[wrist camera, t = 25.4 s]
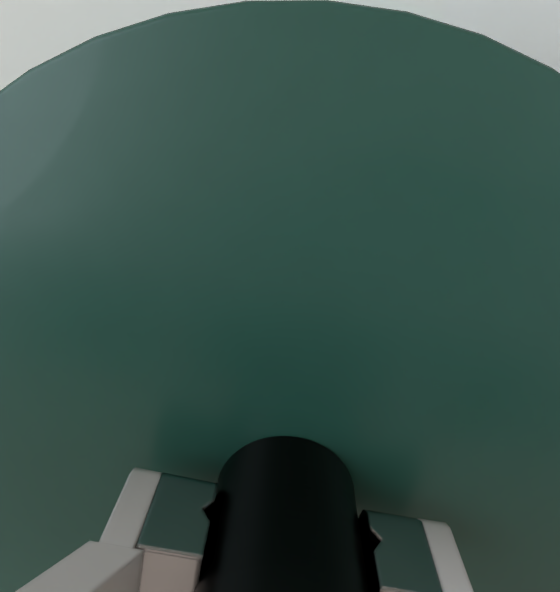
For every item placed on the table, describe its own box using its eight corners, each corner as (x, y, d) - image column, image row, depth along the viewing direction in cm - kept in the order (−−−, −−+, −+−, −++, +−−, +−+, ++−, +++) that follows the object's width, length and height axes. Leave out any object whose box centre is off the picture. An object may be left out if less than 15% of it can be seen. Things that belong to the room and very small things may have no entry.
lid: (516, 737, 14) (614, 1026, 10) (-78, 641, 13) (-259, 904, 9) (889, 133, 8) (1587, 173, 4) (-150, -97, 7) (-796, -376, 3)
